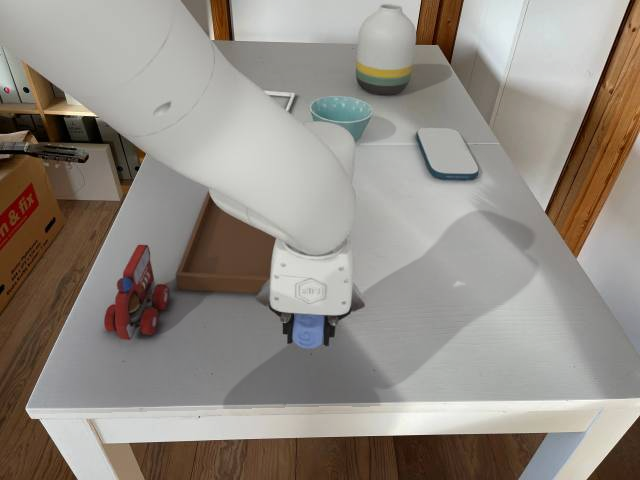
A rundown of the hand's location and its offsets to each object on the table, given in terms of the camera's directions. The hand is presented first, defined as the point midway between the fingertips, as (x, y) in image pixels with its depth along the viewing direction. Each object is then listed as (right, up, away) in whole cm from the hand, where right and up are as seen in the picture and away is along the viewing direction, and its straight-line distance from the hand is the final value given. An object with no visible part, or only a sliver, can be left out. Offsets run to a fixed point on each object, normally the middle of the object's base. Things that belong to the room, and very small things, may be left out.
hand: (308, 336), depth 68 cm
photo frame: (-16, +52, +75) cm, 93 cm away
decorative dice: (0, 0, 0) cm, 1 cm away
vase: (+21, +61, +87) cm, 108 cm away
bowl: (+7, +39, +60) cm, 72 cm away
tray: (-13, +13, +25) cm, 31 cm away
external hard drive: (+32, +34, +54) cm, 72 cm away
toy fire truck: (-27, +1, +10) cm, 28 cm away
